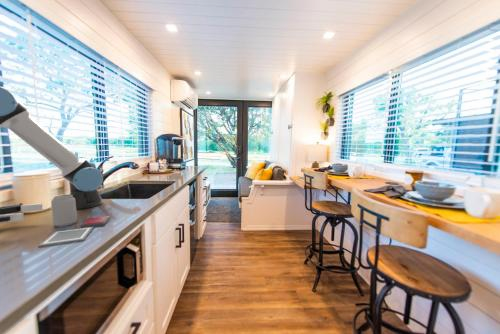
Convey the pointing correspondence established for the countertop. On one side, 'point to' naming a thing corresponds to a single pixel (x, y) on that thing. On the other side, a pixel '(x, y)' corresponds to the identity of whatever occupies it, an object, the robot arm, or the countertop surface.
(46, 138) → the robot arm
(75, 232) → the board
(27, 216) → the countertop surface
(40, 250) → the countertop surface
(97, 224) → the ink pad
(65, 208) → the grey upright rounded block
